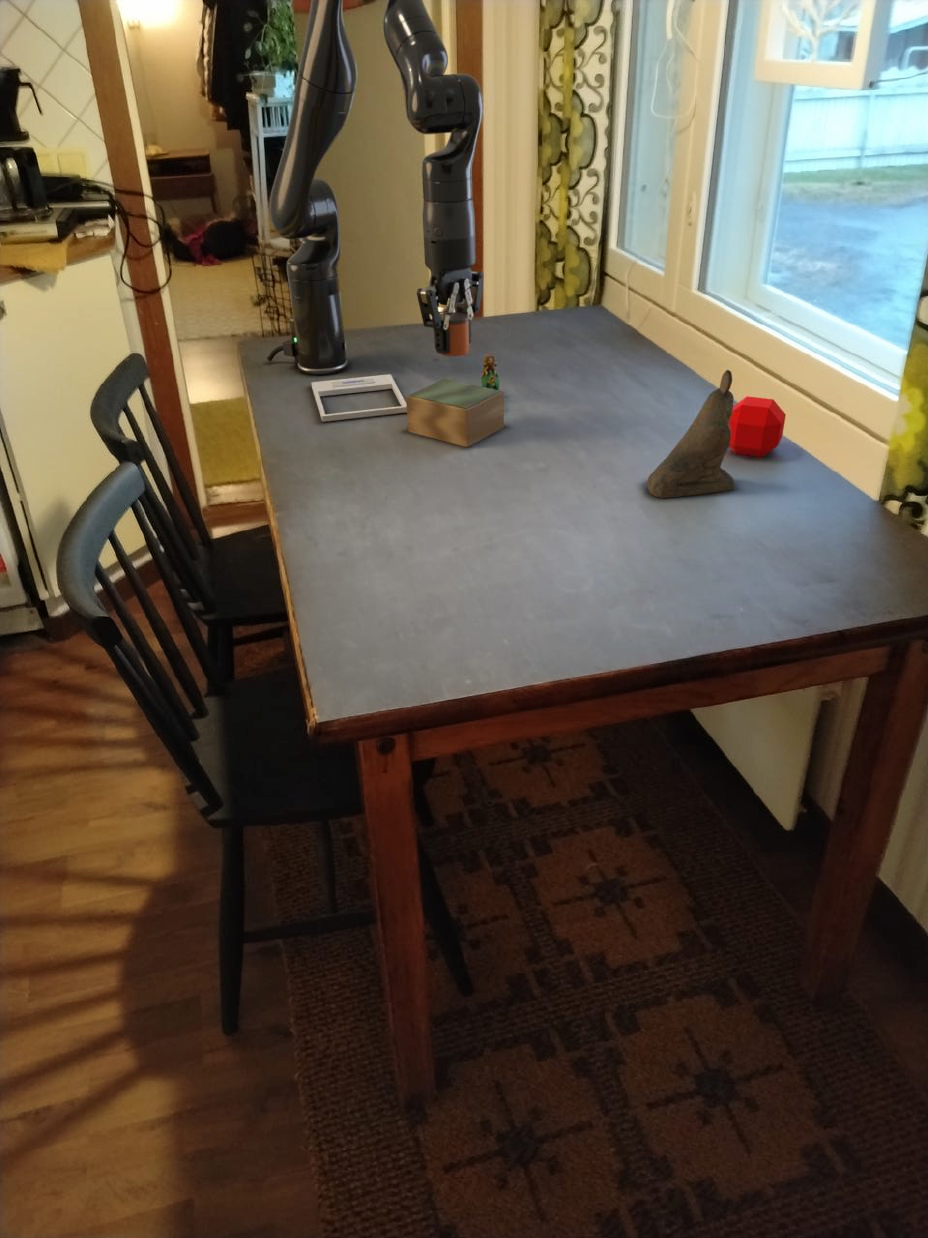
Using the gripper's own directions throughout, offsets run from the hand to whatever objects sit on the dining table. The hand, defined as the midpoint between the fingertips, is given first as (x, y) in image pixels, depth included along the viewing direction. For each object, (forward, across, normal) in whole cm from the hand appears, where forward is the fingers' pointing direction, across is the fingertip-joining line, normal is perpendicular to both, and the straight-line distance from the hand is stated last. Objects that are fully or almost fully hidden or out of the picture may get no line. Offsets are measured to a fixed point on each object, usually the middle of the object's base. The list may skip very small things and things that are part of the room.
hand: (453, 347), depth 148 cm
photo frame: (+13, -2, -23) cm, 27 cm away
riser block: (+13, 0, 0) cm, 13 cm away
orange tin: (+1, 0, 0) cm, 1 cm away
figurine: (+14, -14, -3) cm, 20 cm away
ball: (+14, -17, +43) cm, 48 cm away
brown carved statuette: (+14, 0, +41) cm, 43 cm away
